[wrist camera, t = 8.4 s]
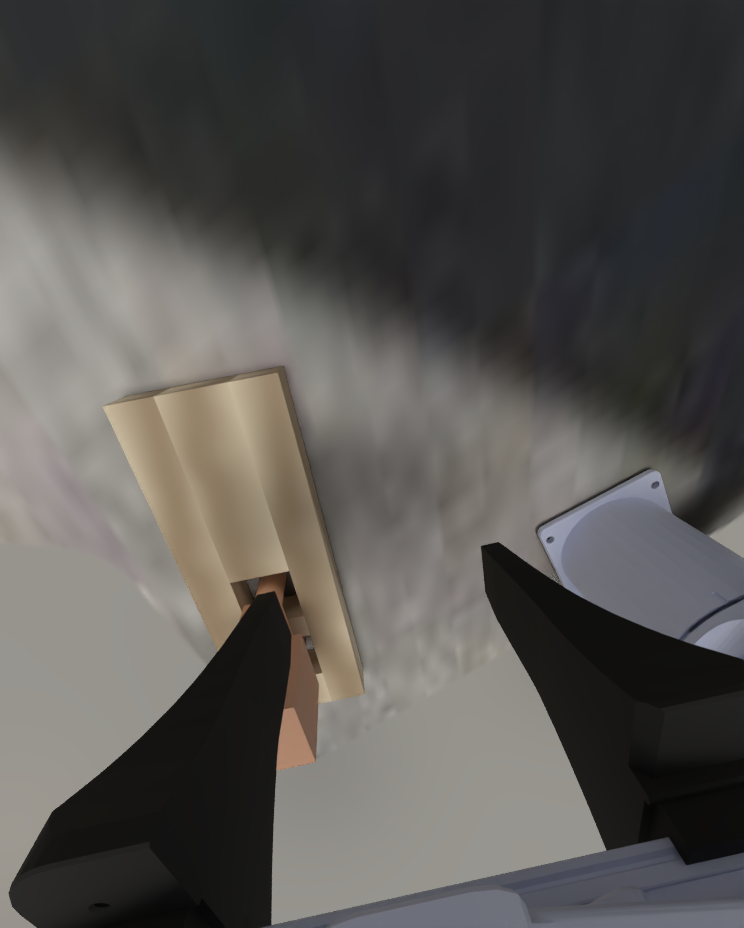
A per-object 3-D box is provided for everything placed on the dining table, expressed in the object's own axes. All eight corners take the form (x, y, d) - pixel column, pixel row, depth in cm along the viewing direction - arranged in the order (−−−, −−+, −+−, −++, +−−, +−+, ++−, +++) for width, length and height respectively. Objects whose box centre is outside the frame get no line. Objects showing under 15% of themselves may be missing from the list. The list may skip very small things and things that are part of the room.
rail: (283, 366, 19) (277, 372, 17) (362, 668, 28) (364, 694, 26) (125, 396, 19) (102, 406, 17) (254, 690, 28) (249, 718, 26)
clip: (301, 560, 24) (285, 687, 16) (325, 637, 26) (322, 777, 18) (238, 573, 24) (190, 706, 16) (269, 648, 26) (241, 795, 18)
